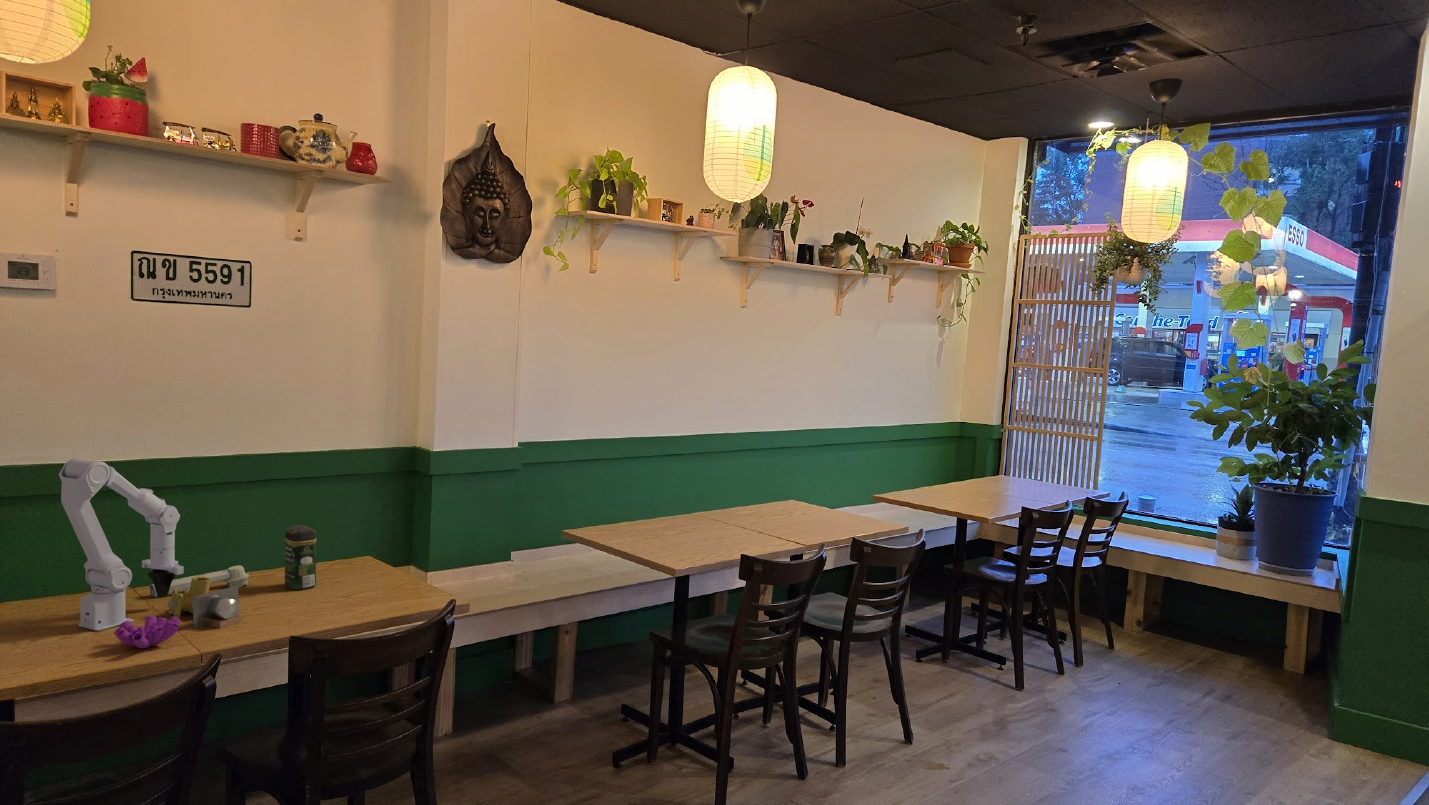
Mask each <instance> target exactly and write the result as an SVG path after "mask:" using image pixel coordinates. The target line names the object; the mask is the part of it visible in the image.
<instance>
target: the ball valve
mask: <svg viewBox="0 0 1429 805" xmlns="http://www.w3.org/2000/svg"><path fill="white" fill-rule="evenodd" d="M195 576H196V575H195ZM210 582H211V579H210V578H209V577H203V576H196V577H193V578H192V580H191V586H190V589H188V590H186V591H183V592H178V590H177V589H173V591H172V594H171V598H170V600H168V602H167V603H166V604H167V608H169V609H168V614H169V615H173V617H176V618H178V619H180V617H181V612H182V610H183V611H185V612H189V613H190V614H191V615H193V597H195V596H199V595H203V594H207V593H210V592H209V590H210V586H211V584H210Z"/></svg>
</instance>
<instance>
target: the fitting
mask: <svg viewBox="0 0 1429 805" xmlns="http://www.w3.org/2000/svg"><path fill="white" fill-rule="evenodd" d="M240 611H241V605H240V602H239V588H238V587H235V586H234V587H230V588H228V587H227V588H226V587H225V588H221V589H218V590H215V591H212V592H208V593H207V594H203V595H199V596H195V597H193V614H192V615H193V616H192V618H193V620H192V621H193V623H192V627H193V628H196V629H199V628H202V627H206V626H209V627H212V626H213V628H217V629H223V628H227V627H230V626H233V625H236V624H237V625H238V624H239V623H243V615H242V614H239V613H240Z"/></svg>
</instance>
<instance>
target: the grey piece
mask: <svg viewBox="0 0 1429 805" xmlns="http://www.w3.org/2000/svg"><path fill="white" fill-rule="evenodd" d="M196 576H203V577H209V578H210V579H211V582H210V585H212V584H217V583H220V582H225V583H226V586H227V588H230V587H234V586H235V587H238V589H239V588H242V587H243V586H247V585H248V584H249V580H248V578H249V576H250V575H249V573H246V572H245V568H244V566H242V565H234V566H230V567H228V568H227V569H223V570H218V571H213V572H207V573H203V574H202V573H201V574H196V575H192V576H186V577H182V578H176V579H175V578H174V579H173V581H172V583H171V586H170V589H169V593H168V596H169V595H172V591H173V589H177V590H178V593H183V592H184V591H186V590H188V589H190V586H191V580H192V578H193V577H196ZM149 591H150V595H151V598H153V599H155V598H159V597H158V596H157V593H156V590H155V587H154V584H153V583H152V584H149Z"/></svg>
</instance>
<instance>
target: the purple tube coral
mask: <svg viewBox="0 0 1429 805" xmlns="http://www.w3.org/2000/svg"><path fill="white" fill-rule="evenodd" d="M180 624H181V619H180V618H179V619H178V618H176V617H174V615H173V616H171V617H170V618H169V619H167V618H165V617H158V618H157V616H156V615H148V616H146V617H145V622H144V626H143V625H142V626H139V627H135V625H134V624H133V623H132V622H129V621H128V620H127V621H125V622H123V623H121V624H120V625H118V626H119V627H118V628H117V629H115V630H114V632H113V633H114V635H115V637H116V638H117V639H118V640H119V641H120V642H122V643H123V644H126V645H128V646H133V647H137V648H138V649H147V648H149V647H153V646H155V645H158V644H161V643H163V642H164V641H167V640H169V639H170V638H171V637H173V636H174V635H175V634H176V633H177V631H178V630H179V628H180V626H179V625H180Z"/></svg>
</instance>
